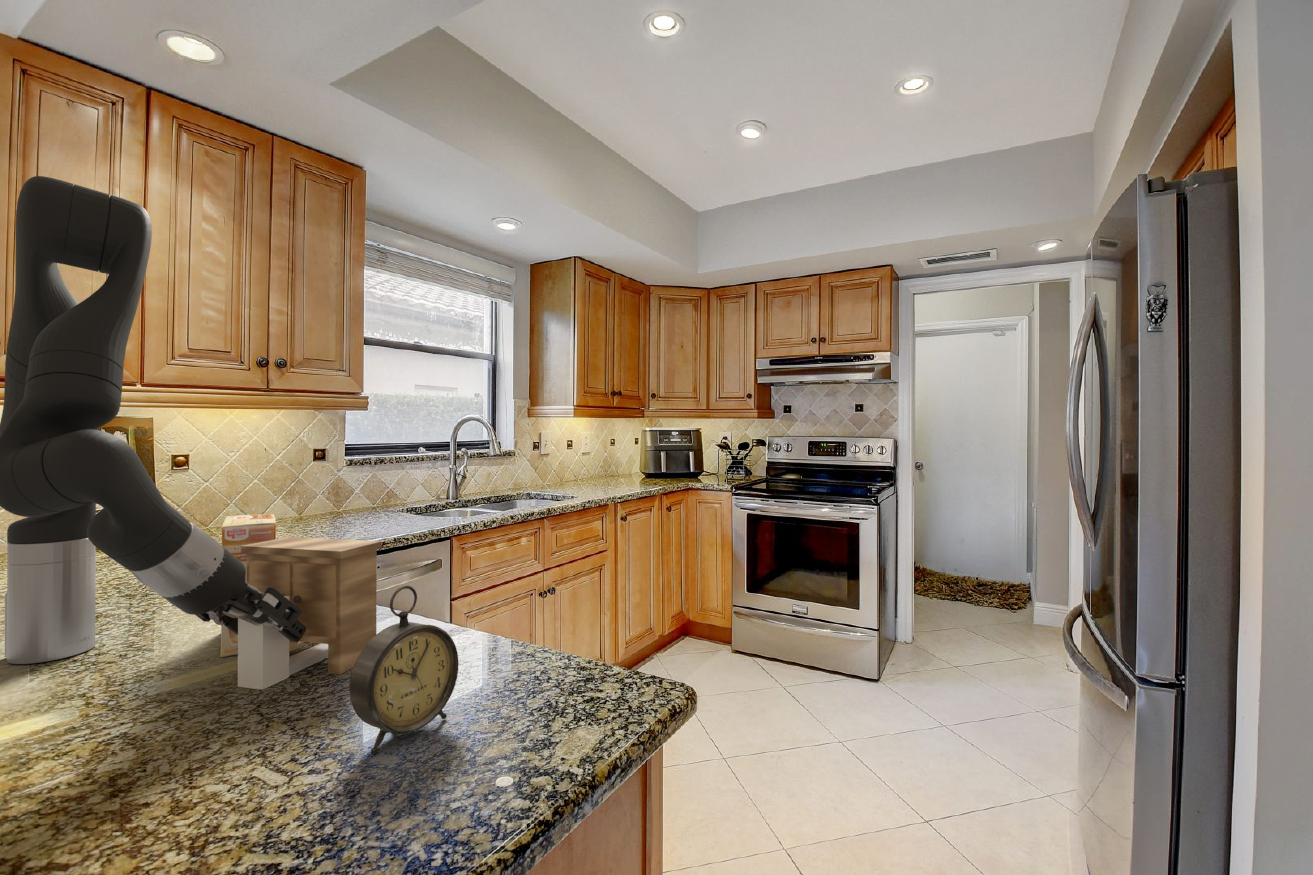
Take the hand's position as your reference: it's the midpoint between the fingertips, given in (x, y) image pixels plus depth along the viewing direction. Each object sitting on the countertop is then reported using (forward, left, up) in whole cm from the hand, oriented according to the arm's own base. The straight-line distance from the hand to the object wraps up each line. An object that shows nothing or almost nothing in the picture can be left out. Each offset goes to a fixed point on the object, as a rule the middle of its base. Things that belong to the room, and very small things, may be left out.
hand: (274, 633), depth 78 cm
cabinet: (0, +6, -6) cm, 9 cm away
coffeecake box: (-17, +11, -6) cm, 21 cm away
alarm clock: (+27, -9, -6) cm, 29 cm away
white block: (0, +4, -6) cm, 7 cm away
